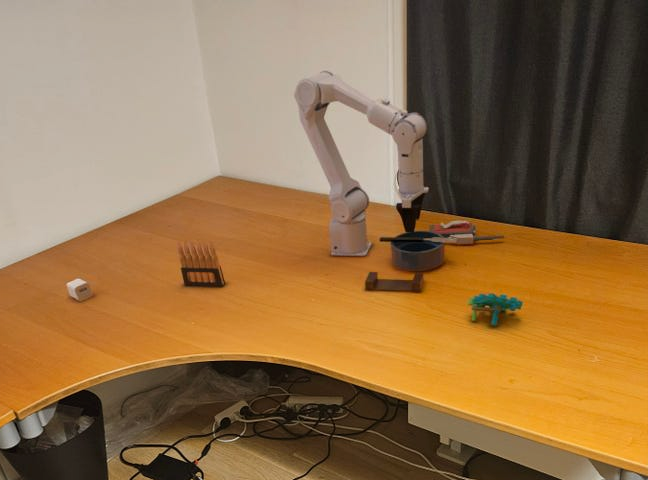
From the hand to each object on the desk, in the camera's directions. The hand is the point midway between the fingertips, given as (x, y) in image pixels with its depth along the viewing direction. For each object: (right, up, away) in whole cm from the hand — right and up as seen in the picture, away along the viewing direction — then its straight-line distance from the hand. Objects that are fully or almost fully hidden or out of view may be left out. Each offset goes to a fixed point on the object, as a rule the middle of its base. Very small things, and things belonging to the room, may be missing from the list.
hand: (412, 225), depth 151 cm
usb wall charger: (-85, -17, +8) cm, 87 cm away
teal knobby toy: (+15, -24, -22) cm, 36 cm away
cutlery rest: (-5, -16, -6) cm, 17 cm away
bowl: (+2, -8, +4) cm, 9 cm away
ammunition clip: (-52, -14, +6) cm, 54 cm away
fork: (+2, -4, +1) cm, 4 cm away
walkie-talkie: (+15, -1, +12) cm, 20 cm away
